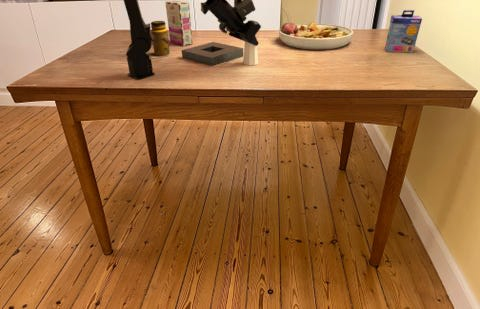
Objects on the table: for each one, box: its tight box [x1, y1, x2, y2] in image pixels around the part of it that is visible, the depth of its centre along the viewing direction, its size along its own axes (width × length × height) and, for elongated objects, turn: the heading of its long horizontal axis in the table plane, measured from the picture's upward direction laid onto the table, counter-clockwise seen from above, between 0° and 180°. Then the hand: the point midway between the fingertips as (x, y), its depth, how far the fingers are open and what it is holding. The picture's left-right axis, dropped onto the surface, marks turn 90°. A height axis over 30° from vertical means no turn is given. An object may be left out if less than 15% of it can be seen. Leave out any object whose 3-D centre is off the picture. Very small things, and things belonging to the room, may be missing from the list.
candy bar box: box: [164, 0, 193, 47], centre depth 140 cm, size 11×5×16 cm, turn 41°
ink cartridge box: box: [384, 9, 423, 53], centre depth 123 cm, size 10×6×14 cm, turn 78°
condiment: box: [147, 20, 174, 59], centre depth 126 cm, size 7×8×12 cm
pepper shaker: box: [242, 41, 259, 66], centre depth 114 cm, size 5×5×11 cm
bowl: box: [278, 22, 354, 51], centre depth 139 cm, size 30×30×8 cm
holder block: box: [181, 41, 244, 67], centre depth 123 cm, size 16×16×3 cm
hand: (254, 43), depth 114 cm, fingers closed on pepper shaker, 4 cm apart
